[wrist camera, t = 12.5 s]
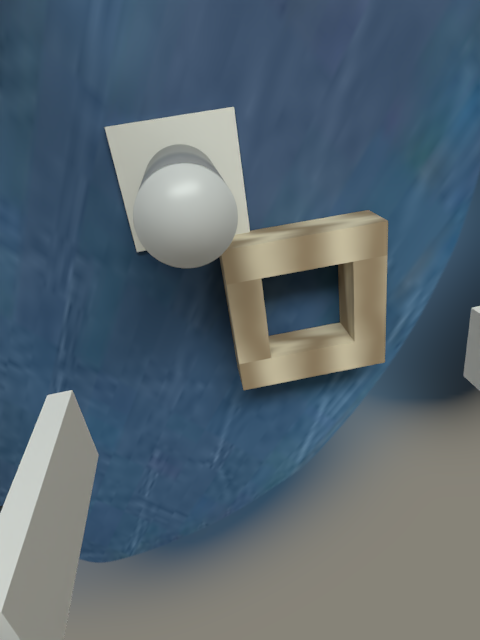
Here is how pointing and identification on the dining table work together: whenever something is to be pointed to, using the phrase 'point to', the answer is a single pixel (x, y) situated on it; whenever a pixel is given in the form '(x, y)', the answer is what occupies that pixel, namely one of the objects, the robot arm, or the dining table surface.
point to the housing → (299, 255)
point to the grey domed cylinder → (184, 208)
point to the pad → (190, 129)
